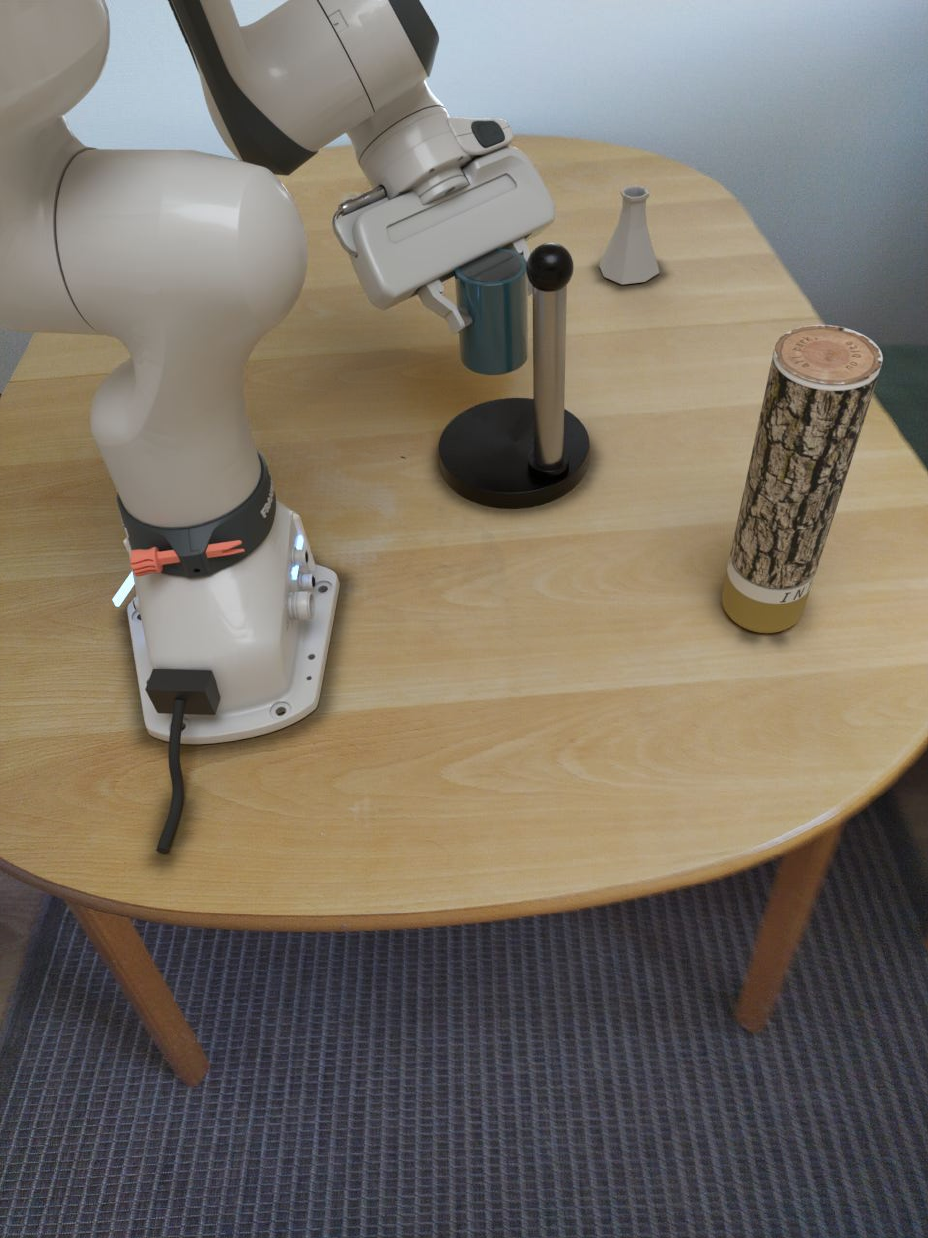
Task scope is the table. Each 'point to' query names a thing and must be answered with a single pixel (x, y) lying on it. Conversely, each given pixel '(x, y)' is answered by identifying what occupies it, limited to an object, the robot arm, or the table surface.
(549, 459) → the towel holder
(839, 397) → the paper tube
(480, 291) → the cup
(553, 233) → the table surface
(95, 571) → the table surface
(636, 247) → the flask
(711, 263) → the table surface
